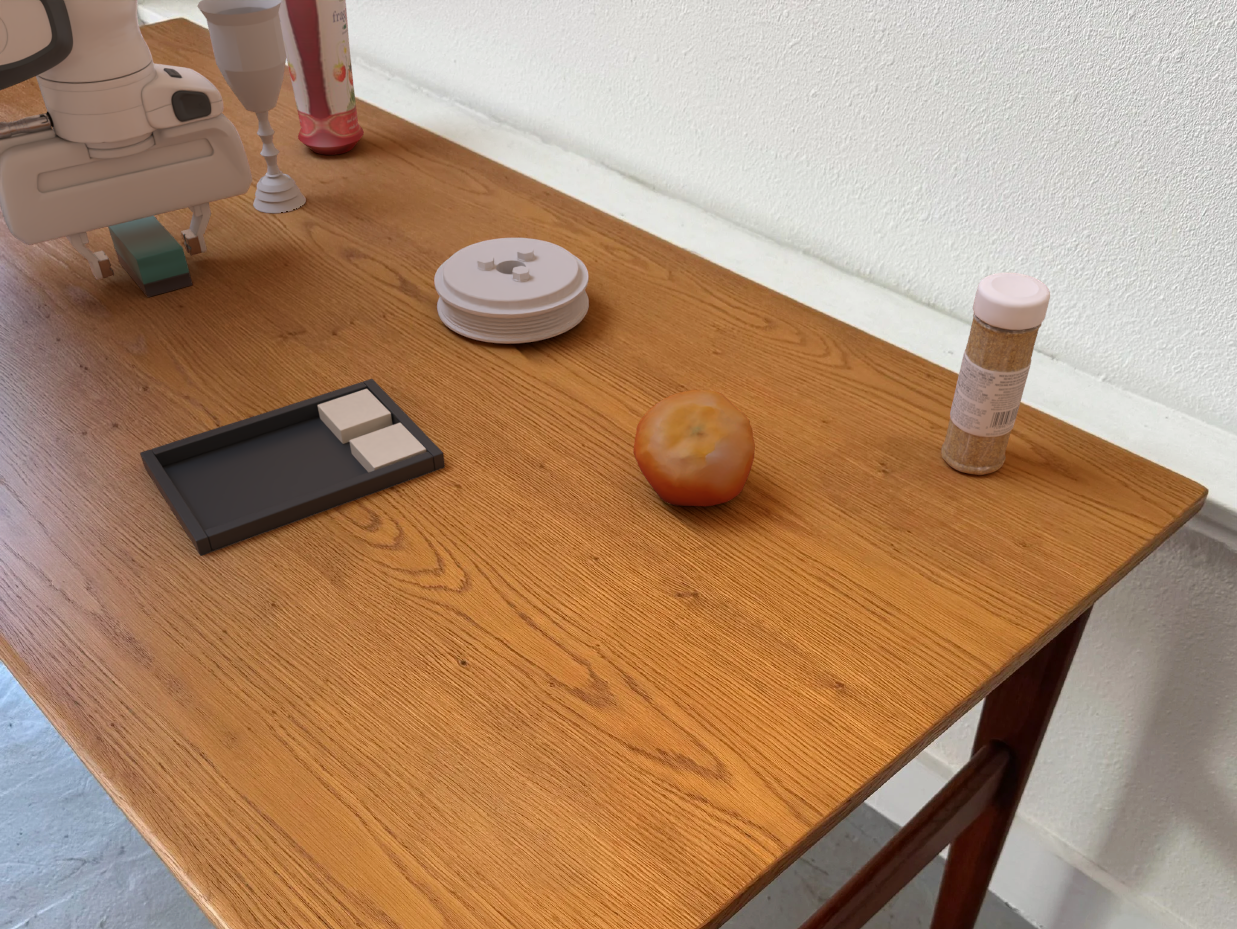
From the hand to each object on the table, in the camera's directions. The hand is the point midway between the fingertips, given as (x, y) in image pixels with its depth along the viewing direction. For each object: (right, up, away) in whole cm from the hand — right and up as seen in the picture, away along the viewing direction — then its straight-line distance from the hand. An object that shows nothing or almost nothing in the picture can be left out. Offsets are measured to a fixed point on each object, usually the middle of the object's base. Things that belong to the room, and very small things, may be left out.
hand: (150, 263), depth 104 cm
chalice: (+8, +9, +12) cm, 17 cm away
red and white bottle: (+11, +19, +22) cm, 31 cm away
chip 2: (+25, -20, -21) cm, 38 cm away
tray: (+19, -21, -21) cm, 35 cm away
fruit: (+46, -23, -22) cm, 56 cm away
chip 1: (+22, -17, -17) cm, 33 cm away
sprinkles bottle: (+67, -20, -19) cm, 72 cm away
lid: (+32, -6, -4) cm, 33 cm away
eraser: (0, -1, +1) cm, 1 cm away
